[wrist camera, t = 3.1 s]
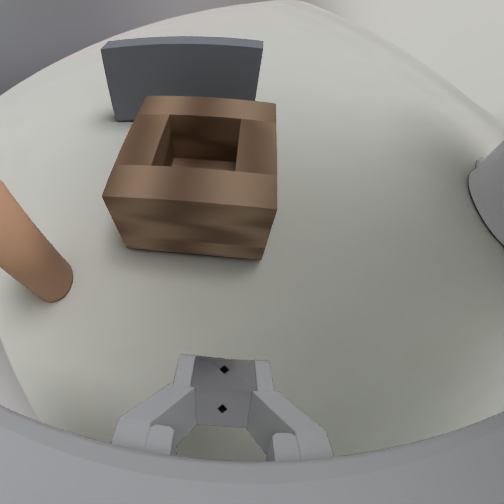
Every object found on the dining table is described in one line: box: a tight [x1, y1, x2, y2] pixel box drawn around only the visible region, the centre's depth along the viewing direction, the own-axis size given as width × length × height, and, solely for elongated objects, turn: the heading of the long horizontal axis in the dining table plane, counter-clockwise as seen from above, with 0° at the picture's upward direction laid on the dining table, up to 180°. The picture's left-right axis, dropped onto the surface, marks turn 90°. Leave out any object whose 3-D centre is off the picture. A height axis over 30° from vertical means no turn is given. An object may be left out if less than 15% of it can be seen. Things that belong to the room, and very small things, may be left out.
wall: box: [101, 36, 263, 121], centre depth 27 cm, size 16×2×10 cm, turn 88°
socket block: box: [102, 96, 277, 260], centre depth 23 cm, size 11×11×7 cm
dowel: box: [0, 180, 73, 302], centre depth 17 cm, size 4×4×11 cm
